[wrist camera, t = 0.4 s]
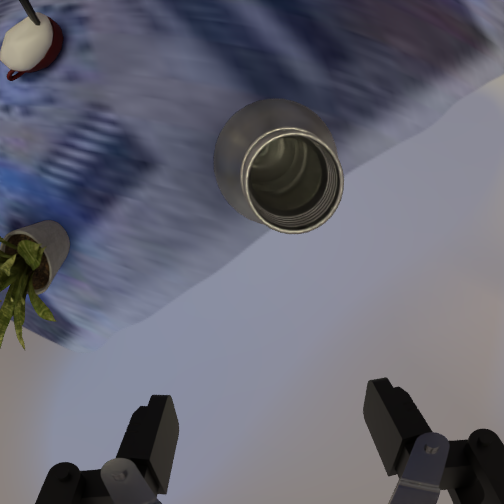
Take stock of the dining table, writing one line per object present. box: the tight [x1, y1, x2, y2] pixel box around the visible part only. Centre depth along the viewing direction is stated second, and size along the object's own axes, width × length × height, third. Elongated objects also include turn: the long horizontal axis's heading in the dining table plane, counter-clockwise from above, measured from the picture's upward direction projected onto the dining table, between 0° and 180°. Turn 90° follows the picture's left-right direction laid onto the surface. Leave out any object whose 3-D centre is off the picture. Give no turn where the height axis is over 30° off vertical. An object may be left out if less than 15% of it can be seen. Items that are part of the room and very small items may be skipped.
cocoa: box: [0, 0, 63, 81], centre depth 18 cm, size 10×6×12 cm, turn 110°
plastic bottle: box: [213, 99, 344, 234], centre depth 20 cm, size 6×7×20 cm
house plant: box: [0, 220, 70, 349], centre depth 24 cm, size 14×14×16 cm
